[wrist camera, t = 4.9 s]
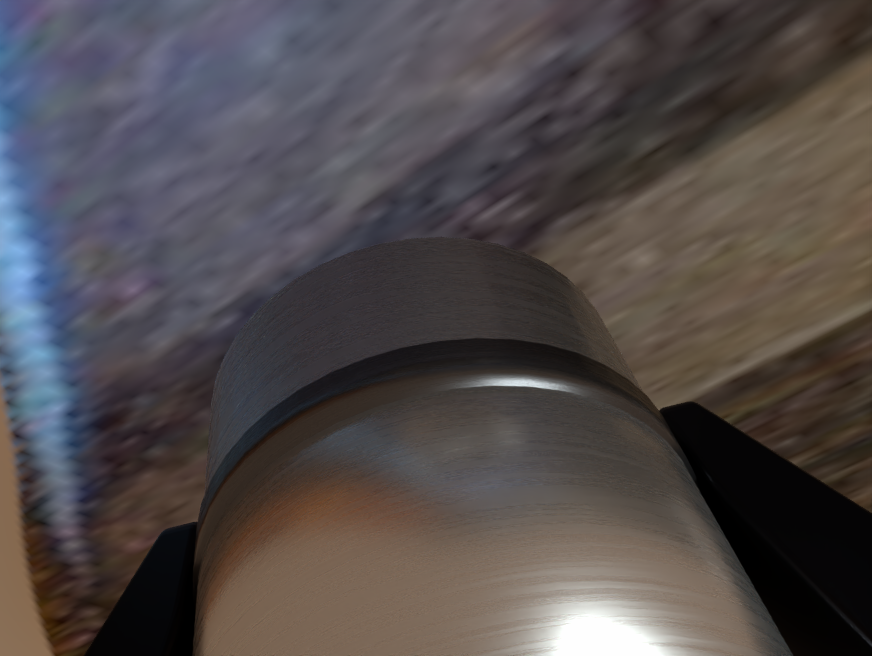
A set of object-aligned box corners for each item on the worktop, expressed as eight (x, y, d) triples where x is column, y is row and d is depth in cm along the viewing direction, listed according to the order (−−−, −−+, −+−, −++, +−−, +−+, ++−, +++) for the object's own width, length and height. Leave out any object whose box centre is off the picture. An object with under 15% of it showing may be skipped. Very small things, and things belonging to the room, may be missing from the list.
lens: (627, 501, 12) (870, 1021, 7) (273, 589, 12) (279, 1182, 7) (615, 180, 9) (1033, 721, 4) (132, 292, 9) (-30, 995, 4)
